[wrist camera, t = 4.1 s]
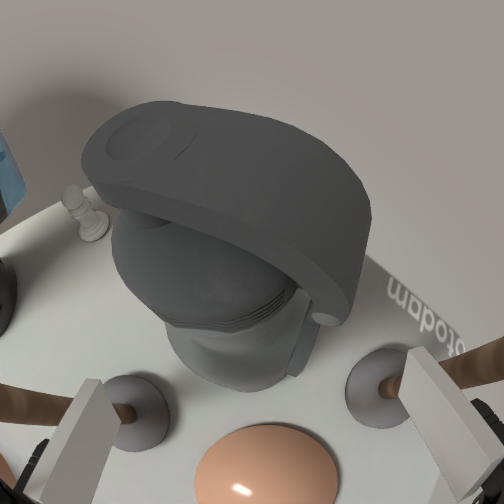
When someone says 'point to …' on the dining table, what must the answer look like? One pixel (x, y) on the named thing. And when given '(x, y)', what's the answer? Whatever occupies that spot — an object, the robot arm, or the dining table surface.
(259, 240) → the water bottle
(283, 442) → the glossy peach dome
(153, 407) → the walnut post
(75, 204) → the chess piece
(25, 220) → the dining table surface
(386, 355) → the walnut post
